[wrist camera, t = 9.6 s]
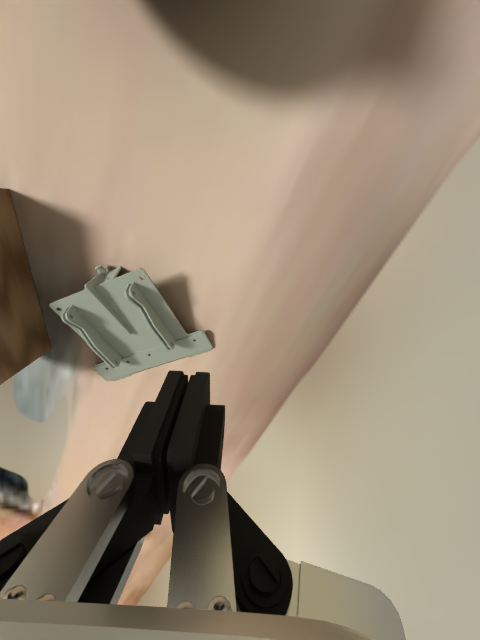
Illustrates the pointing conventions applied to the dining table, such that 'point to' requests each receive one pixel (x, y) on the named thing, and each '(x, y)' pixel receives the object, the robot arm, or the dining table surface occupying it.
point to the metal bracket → (127, 324)
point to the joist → (17, 299)
